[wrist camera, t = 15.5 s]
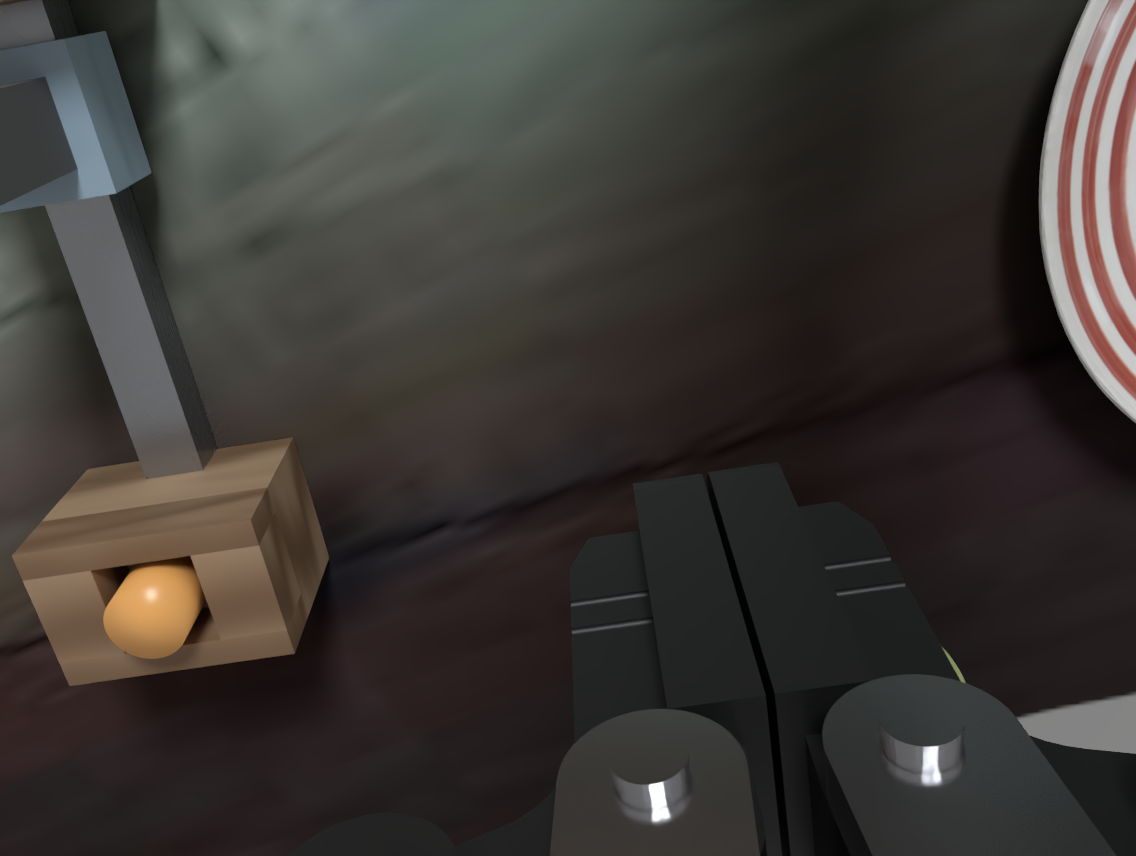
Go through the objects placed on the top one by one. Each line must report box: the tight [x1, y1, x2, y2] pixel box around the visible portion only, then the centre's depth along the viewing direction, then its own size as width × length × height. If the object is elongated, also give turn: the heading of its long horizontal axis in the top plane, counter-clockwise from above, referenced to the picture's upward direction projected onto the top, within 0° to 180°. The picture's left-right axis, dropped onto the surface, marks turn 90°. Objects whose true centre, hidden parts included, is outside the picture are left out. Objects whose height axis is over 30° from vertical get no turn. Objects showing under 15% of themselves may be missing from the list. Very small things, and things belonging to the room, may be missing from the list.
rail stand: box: [0, 0, 329, 686], centre depth 38 cm, size 28×9×7 cm, turn 9°
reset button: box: [103, 556, 206, 659], centre depth 40 cm, size 3×3×4 cm
